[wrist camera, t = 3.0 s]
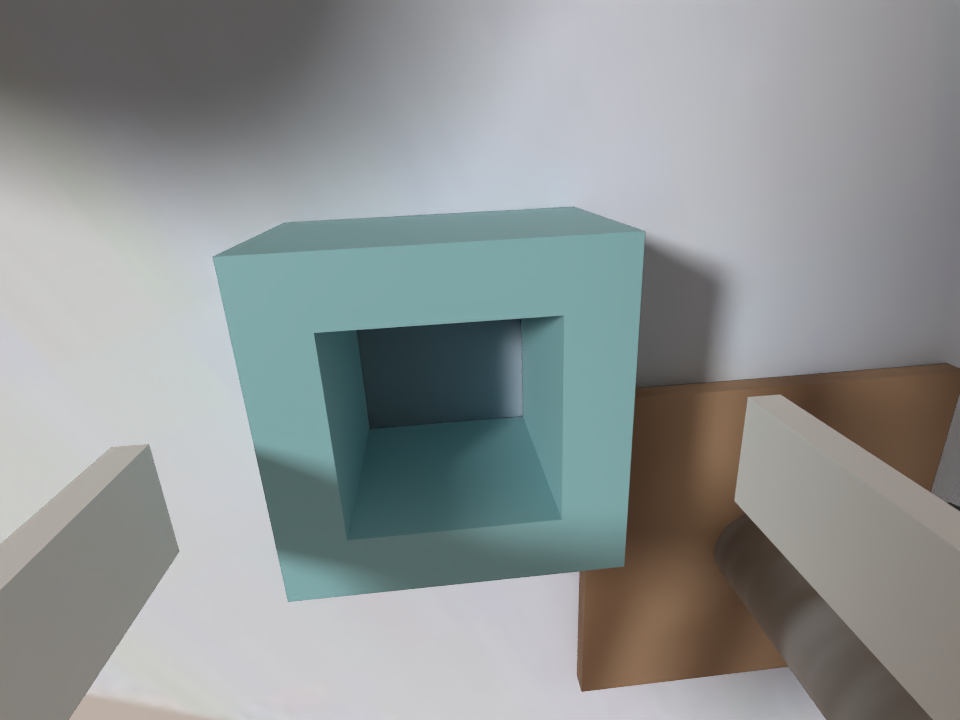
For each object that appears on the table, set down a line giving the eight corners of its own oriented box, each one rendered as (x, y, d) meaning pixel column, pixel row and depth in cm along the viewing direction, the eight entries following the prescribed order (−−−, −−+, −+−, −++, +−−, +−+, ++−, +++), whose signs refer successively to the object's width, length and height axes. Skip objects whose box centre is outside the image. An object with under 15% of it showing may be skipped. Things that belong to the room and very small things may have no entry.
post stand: (576, 675, 25) (667, 982, 15) (584, 392, 20) (723, 599, 10) (869, 640, 26) (1115, 909, 16) (946, 363, 21) (1361, 528, 11)
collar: (326, 475, 20) (288, 601, 14) (284, 222, 17) (212, 256, 11) (569, 454, 20) (624, 566, 15) (573, 206, 17) (645, 231, 12)
